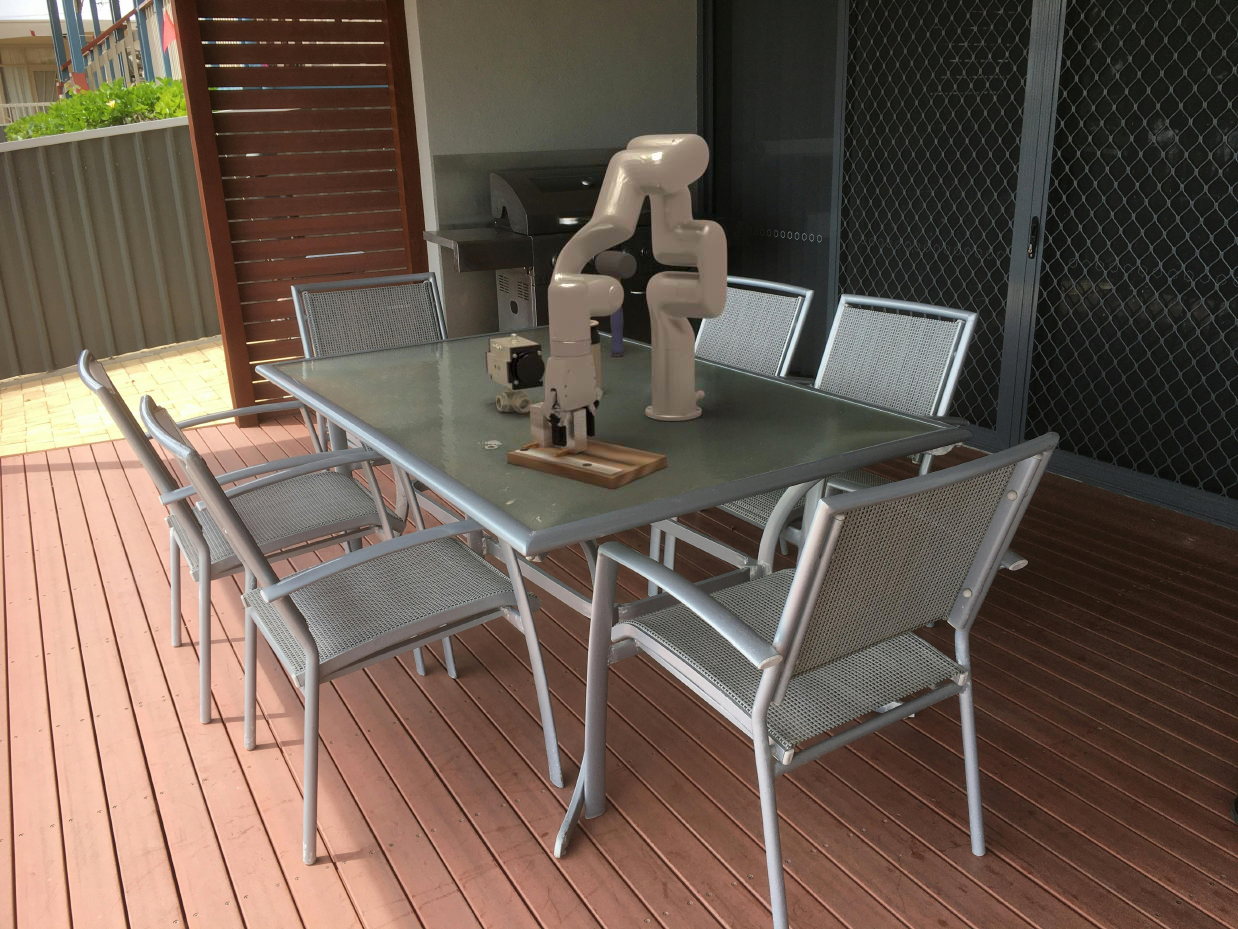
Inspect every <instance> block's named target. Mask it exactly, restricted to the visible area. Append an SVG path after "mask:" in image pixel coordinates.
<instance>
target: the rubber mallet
mask: <svg viewBox="0 0 1238 929" xmlns="http://www.w3.org/2000/svg"><path fill="white" fill-rule="evenodd" d="M595 258H596V259H595V262H594V265H595V266H594V267H595V270H596V271H597V272H598V273H599V275H605V276H610V277H613V278H615V279H616V280H618V281H619V283H620V284H621V279H624V280H625V279H626V280H627V279H630V278H632V277H633V276H634V275H635V273H636V271H637V260H636V258H635V257H634V256H633V255H632V254H630V253H627V252H623V251H618V250H616V251H615V250H604V251H602V252H600V253H598V254H597V255H596V257H595ZM621 285H622V284H621ZM609 316H610V318H609V319H610V320H609V322H610V331H611V346H610V353H611V355H612V356H613V355H615V356H614V357H617V356H618V357H621V356H620V355H622V356H623V355H624V353H625V346H624V334H623V333H624V332H623V331H624V312H623V306H622V305H621V307H620V308H619V309H618V310H617V311H616V312H615V313H613V314H611V315H609Z"/></svg>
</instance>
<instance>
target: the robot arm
mask: <svg viewBox="0 0 1238 929" xmlns="http://www.w3.org/2000/svg"><path fill="white" fill-rule="evenodd" d="M709 160H710V150H709V146H708V143H707V142H706V140H705V139H704V137H702V136H700V135H698V134H694V133H676V134H675V133H674V134H665V133H664V134H646V135H641V136H640V135H639V136H637V137H634V138H633V139H631V140H630V141H629V142H628V143H627V146H626V149H623V150H621V151H618V152H616V153H615V154H613V156H612V157H611V159H610V161H609V163H608V166H607V168H606V172H605V176H604V179H603V182H602V185H601V188H600V191H599V195H598V198H597V202H596V205H595V208H594V210H593V214H592V217H591V219H590V220H589V221H588V222H587V223H586V224H585V225H584V226H583V227H581V228H580V229H579V230H578V231H577V232H576V233H575V234H574V235H573V236H572V237H571V238H570V239H569V240H568V242H567V243H566V244H565V246H564V247H563V248H562V250H561V251H560V253H559V255H558V257H557V259H556V263H555V264H554V265H555V266H554V268H553V272H552V276H551V278H550V284H549V285H548V288H547V301H548V303H547V304H548V324H549V325H548V326H549V328H548V329H549V346H550V349H549V351H550V356H549V357H548V358H547V362H546V366H545V376H544V379H545V380H544V403H543V405H542V406H541V408H540V410H541V412H542V413H543V414H544V416H545V418H546V419H547V420H548V421H549V424H551V425H552V443H553V444H554V445H558V446H562V447H565V446H566V445H567V432H566V426H565V425H564V421H565V418H566V415H567V412H569V411H572V410H575V409H579V408H583V409H586V436H587V437H591V438H592V437H596V424H595V423H596V421H595V416H596V415H597V414H598V412H597V411H598V410H597V409H598V407H599V405H600V401H601V399H602V396H603V394H604V391H603V390H602V388H601V389H600V388H598V387H597V386H596V374H595V366H594V361H593V356H592V353H591V334H590V320H591V318H592V317H607V316H610V315H611V314H613V313H615V312H616V311H617V310H618V309H619V308H620V307H621V306H622V304H623V302H624V298H625V293H624V288H623V286H622V284H620V283H619V281H618V280H616V279H615V278H613V277H610V276H605V275H602V274H590V273H589V274H588V273H581V272H582V270H583V269H584V267H586V265H587V263H589V262H590V260H592V259H593V258H594V257H595V256H598V255H599V254H600V253H601V252H603V251H607V250H609V249H610V248H612V247H616V246H617V245H619V244H622V243H623V242H625V241H627V240H629V239H630V238H632V236H634V234H635V231H636V227H637V224H638V221H639V218H640V214H641V211H642V207H643V204H644V201H645V198H646V196H649V200H650V201H649V202H650V211H651V212H650V213H651V214H650V216H651V217H650V218H651V220H650V221H651V243H652V244H651V245H652V254H653V257H654V259H655V261H657V262H658V263H660V264H662V265H667V266H677V267H694V268H695V267H697V270H698V272H691V271H678V270H677V271H675V270H674V271H673V270H670V271H668V270H666V271H661V272H658V273H656V274H654V275H653V276H652V277H651V278H650V279H649V280H648V283H647V286H646V289H645V290H646V292H645V293H646V294H645V295H646V303H647V307H648V312H649V318H650V331H651V332H650V333H651V335H650V336H651V405H648V406H647V407H646V408H645V410H644V412H645V413H644V414H645V415H646V417H648V418H650V419H653V420H656V421H664V422H665V421H667V422H669V421H670V422H679V421H689V420H692V419H697V418H698V417H700V416H701V415H702V407H700V406H698V405H697V402H698V401H699V400H703V399H704V398H705V396H706V394H705V392H704V391H703V390H698V391H695V390H696V389H695V388H696V387H695V386H696V385H695V384H696V383H695V380H696V378H695V375H696V372H695V371H696V368H695V367H696V366H695V365H696V361H695V359H696V337H695V332H694V330H693V327H692V324H691V323H690V321H689V320H688V318H691V319H704V320H705V319H706V320H707V319H709V320H710V319H711V320H712V319H715V318H718V317H720V316H721V315H722V314H723V312H724V310H725V307H726V305H727V297H728V296H727V295H728V247H727V246H728V245H727V244H728V243H727V238H726V233H725V230H724V229H723V227H722V225H720V224H719V223H718V222H716V221H713V220H707V219H701V220H700V219H694V218H693V213H692V212H693V211H692V198H691V196H692V194H691V191H690V189H689V187H688V186H689V185H690V184H693V183H694V182H695V181H696V180H697V181H698V179H700V178H701V176H703V174H704V173H705V172H706V169H707V168H708V164H709ZM551 409H552V410H551ZM558 414H559V417H558Z"/></svg>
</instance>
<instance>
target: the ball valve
mask: <svg viewBox="0 0 1238 929" xmlns="http://www.w3.org/2000/svg"><path fill="white" fill-rule="evenodd" d="M487 339H488V351H486V352H485V353H484V354H485V366H486V367H485V368H486V373H487V374H489V375H490V379H491V380H492V381H494V382H496V383H498V384H500V385H502V386H504V388H508V389H505V390H504V392H502V393H501V394H496V397H495V404H496V408H497V410H498V411H499V412H504V413H513V412H517V413H519V414H526V413H528V412H529V413H530V405H533V404H534V402H533V399H532V397H531V396H530V395H529V394H527V393H526V392H524V391H522V390H527V389H534V388H541V387H544V378H543V377H544V374H545V373H546V365H545V362H544V360H543V357H542V344H541V343H537V342H535V341H532V340H530V339H527V338H524V337H521V336H518V335H517V333H511V334H510V335H509V336H502V337H501V336H500V337H492V338H491V337H490V338H487Z"/></svg>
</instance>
